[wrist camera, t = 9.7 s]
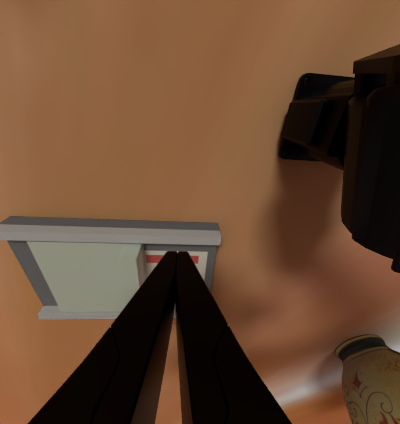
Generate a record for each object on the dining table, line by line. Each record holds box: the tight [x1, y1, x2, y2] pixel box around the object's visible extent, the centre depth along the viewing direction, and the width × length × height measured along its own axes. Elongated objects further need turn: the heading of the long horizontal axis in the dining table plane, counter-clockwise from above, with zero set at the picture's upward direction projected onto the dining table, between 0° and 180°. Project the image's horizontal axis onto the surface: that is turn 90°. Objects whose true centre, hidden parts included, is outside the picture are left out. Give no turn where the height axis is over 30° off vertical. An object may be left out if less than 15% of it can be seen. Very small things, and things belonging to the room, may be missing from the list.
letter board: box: [0, 216, 221, 319], centre depth 23 cm, size 22×14×3 cm, turn 86°
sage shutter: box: [27, 241, 147, 312], centre depth 21 cm, size 11×11×3 cm
